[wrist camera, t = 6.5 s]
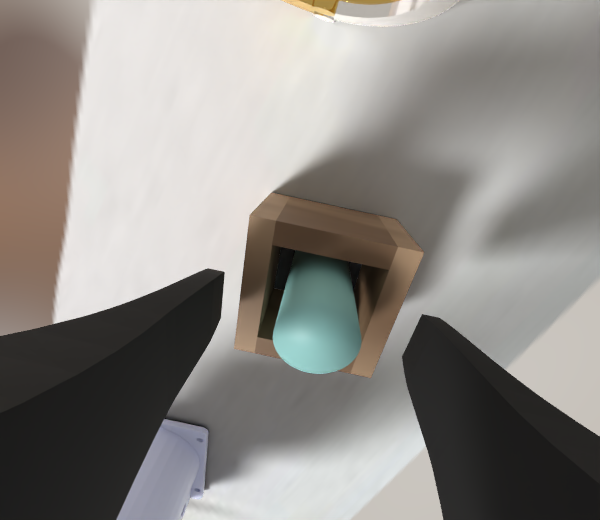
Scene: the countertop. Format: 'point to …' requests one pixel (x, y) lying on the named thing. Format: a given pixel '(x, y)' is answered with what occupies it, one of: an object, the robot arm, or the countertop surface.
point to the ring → (375, 10)
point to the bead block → (335, 244)
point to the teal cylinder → (317, 315)
